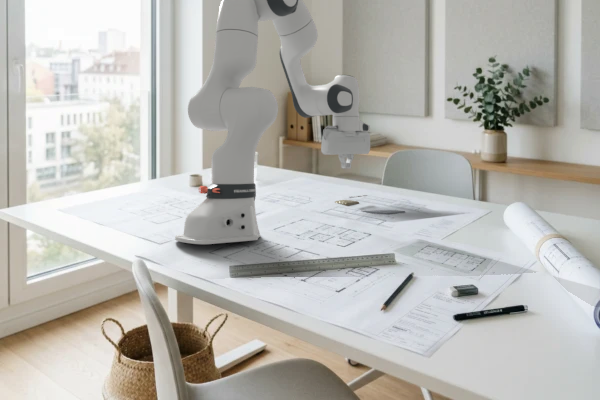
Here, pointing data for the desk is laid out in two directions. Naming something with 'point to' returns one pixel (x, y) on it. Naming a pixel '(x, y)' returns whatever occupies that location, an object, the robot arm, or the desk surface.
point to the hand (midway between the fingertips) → (346, 168)
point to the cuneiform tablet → (348, 201)
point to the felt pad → (384, 211)
